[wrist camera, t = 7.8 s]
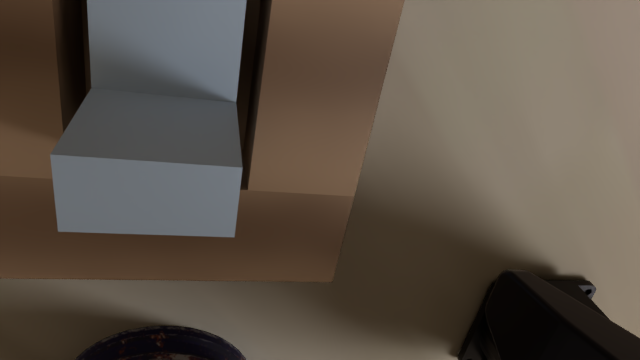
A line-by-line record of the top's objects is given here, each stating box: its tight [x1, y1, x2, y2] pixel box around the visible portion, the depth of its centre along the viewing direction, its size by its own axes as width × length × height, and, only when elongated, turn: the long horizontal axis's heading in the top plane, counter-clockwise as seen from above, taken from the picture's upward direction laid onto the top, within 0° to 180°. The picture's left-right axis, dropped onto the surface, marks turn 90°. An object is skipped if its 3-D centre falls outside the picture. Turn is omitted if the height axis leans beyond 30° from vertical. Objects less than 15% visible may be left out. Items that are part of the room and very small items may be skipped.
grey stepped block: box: [50, 0, 247, 237], centre depth 13 cm, size 6×4×7 cm, turn 169°
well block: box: [0, 0, 404, 282], centre depth 15 cm, size 16×13×4 cm
